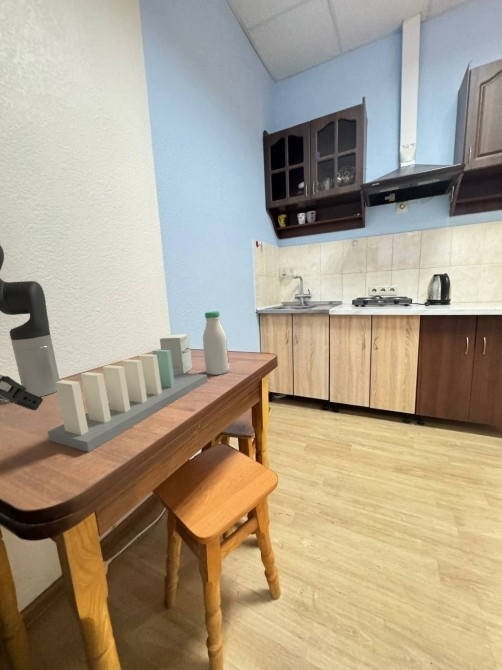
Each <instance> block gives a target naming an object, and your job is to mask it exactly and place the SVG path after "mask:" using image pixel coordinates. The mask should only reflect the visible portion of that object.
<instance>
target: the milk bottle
mask: <svg viewBox="0 0 502 670" xmlns="http://www.w3.org/2000/svg"><path fill="white" fill-rule="evenodd" d="M204 317H205V329H204V331H203V335H202V343H203V345H202V347H203V355H204V364H205V372H206V375H211V376H217V375H223V374H226V373H228V372H229V371H230V361H229V350H228V343H227V335H226V332H225V330H224V328H223V326H222V325H221V322H220V317H221V316H220V312H219V311H207V312H205V313H204Z"/></svg>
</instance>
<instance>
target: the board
mask: <svg viewBox="0 0 502 670" xmlns="http://www.w3.org/2000/svg"><path fill="white" fill-rule="evenodd" d="M173 374H174V382H175V386H174V387H172V388H169V387H161V389H162V393H161V394H159V395H155V394H148V393H146V395H147V401H145V402H144V403H140V402H134V401H129V403H130V410H128V411H126V412H122V411H117V410H111V409H110V407H109V410H110V416H111V420H109V421H107V422H106V423H104V422H99V421H95V420H90V419H89V416H88V412H87V413H86V412H85V416H86V421H87V426H88V432H87V433H85V434H83V435H79V434H75V433H71V432H67V431H65V428H64V423H63V424H61V425H59V426H56V427H54V428H52V429H49V430H48V431H47V435H48V439H49V441H50V442H52V443H56V444H59V445H63V446H66V447H70V448H72V449H77V450H80V451H84V452H87V453H90V452H92V451H94V450H95V449H97V448H99V447H101V446H102V445H103V444H105V443H107V442H109V441H110V440H112V439H114V438H115V437H117V436H119V435H120V434H122V433H123V432H125V431H127V430H129V429H130V428H132V427H134V426H135V425H137V424H139V423H140V422H142V421H144V420H145V419H147V418H149V417H150V416H152V415H154V414H155V413H157V412H159V411H161V410H162V409H164V408H166V407H167V406H169V405H170V404H172V403H175V401H177V400H179V399H180V398H182V397H184V396H185V395H187V394H188V393H190V392H192V391H194V390H195V389H197V388H199V387H200V386H202V385H204V384H205V383H208V382H209V381H208V374H201V373H200V374H199V373H188V372H186V373H178V372H175V373H173ZM108 405H109V402H108Z"/></svg>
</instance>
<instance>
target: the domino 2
mask: <svg viewBox="0 0 502 670" xmlns="http://www.w3.org/2000/svg"><path fill="white" fill-rule="evenodd" d="M80 377H81V382H82V384H81V385H82V388H83V395H84V399H85V403H86V404H85V405H86V409H87V413H88V416H89V419H90V420H95V421H99V422H104V423H106V422H107V421H109V420H111V416H110V410H109V405H108V403H109V402H108V396H107V390H106V384H105V379H104V373H101V372H100V373H99V372H88V371H86V372H83V373H81V374H80Z"/></svg>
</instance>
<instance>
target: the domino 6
mask: <svg viewBox="0 0 502 670" xmlns="http://www.w3.org/2000/svg"><path fill="white" fill-rule="evenodd" d="M152 355H157V360H158V367H159V374H160V382H161V387H169V388H172V387H174V386H175V382H174V374H173V366H172V358H171V351H170V350H161V349H154V350H152Z"/></svg>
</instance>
